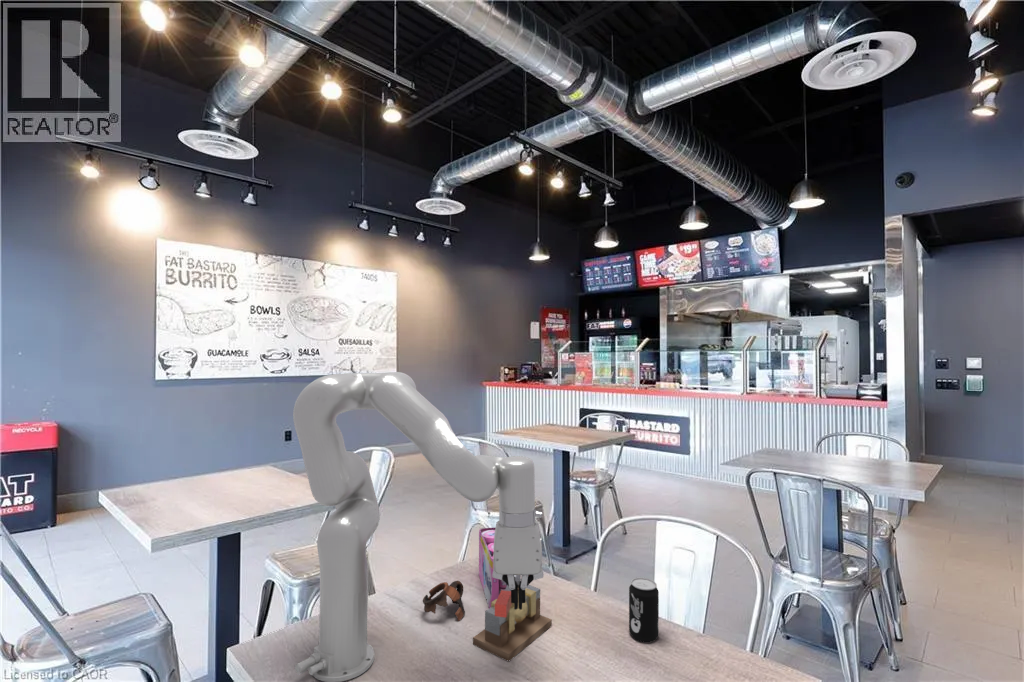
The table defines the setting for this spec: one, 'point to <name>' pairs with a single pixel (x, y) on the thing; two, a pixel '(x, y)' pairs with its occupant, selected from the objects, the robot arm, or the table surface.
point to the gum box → (488, 566)
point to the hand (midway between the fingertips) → (518, 605)
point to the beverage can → (643, 610)
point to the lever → (505, 600)
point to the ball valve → (512, 612)
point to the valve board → (513, 636)
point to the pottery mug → (445, 597)
